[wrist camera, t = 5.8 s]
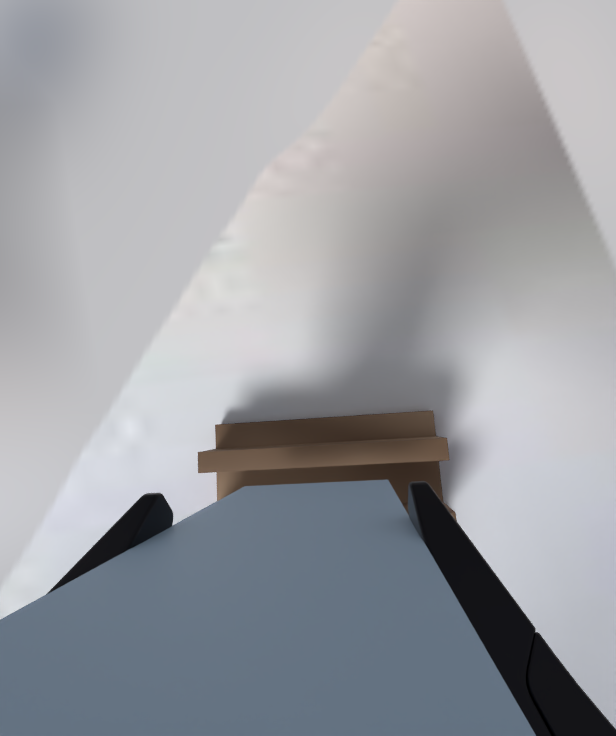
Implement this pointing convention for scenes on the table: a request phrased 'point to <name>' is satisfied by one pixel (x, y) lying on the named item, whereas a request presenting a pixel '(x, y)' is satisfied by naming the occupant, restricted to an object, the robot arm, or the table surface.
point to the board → (259, 631)
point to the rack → (329, 452)
